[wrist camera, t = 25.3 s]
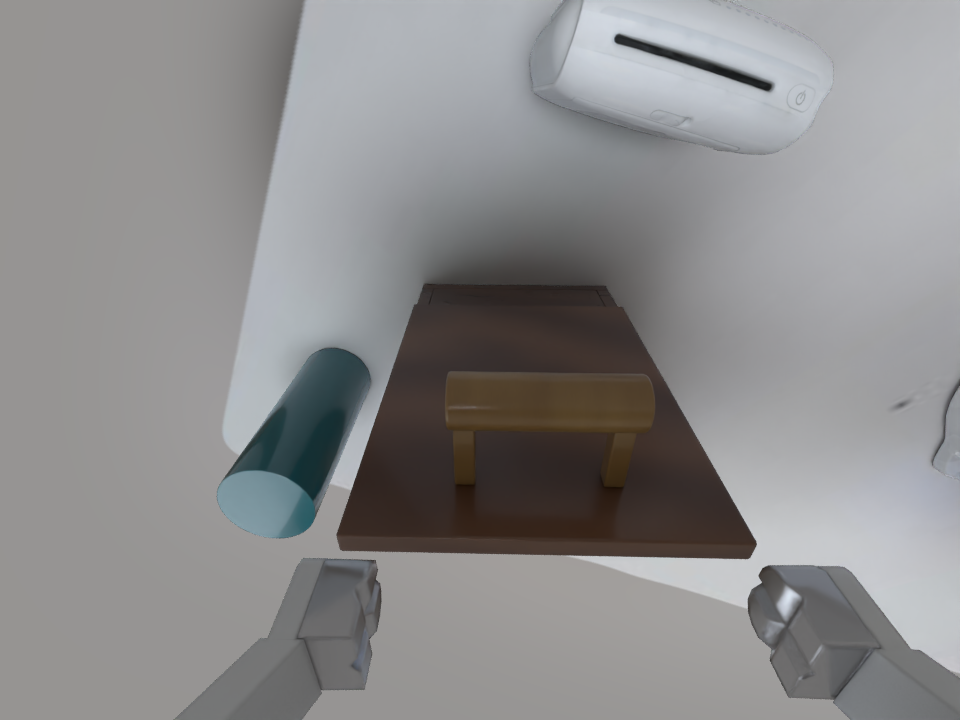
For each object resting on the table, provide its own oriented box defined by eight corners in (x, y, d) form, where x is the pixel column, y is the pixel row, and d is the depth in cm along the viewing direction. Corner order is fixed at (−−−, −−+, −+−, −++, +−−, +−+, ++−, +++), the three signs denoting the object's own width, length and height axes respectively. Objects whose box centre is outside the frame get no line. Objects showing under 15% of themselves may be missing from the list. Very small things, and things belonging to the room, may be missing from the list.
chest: (580, 457, 39) (588, 492, 36) (434, 454, 39) (428, 489, 36) (605, 285, 31) (620, 309, 28) (423, 283, 32) (415, 306, 28)
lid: (750, 560, 14) (814, 435, 11) (339, 552, 14) (307, 427, 11) (620, 318, 28) (635, 236, 25) (414, 315, 28) (408, 234, 25)
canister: (381, 366, 35) (328, 494, 24) (356, 413, 37) (298, 550, 26) (316, 336, 34) (229, 455, 23) (295, 387, 36) (206, 518, 25)
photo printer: (722, 62, 25) (898, 35, 14) (685, 146, 27) (814, 178, 16) (543, 3, 24) (587, -75, 13) (519, 95, 26) (539, 93, 15)
